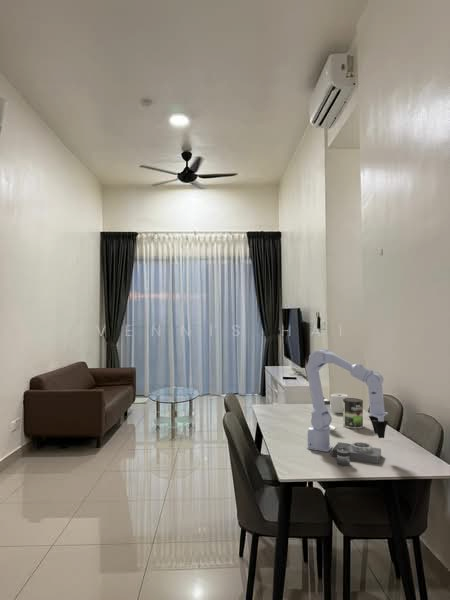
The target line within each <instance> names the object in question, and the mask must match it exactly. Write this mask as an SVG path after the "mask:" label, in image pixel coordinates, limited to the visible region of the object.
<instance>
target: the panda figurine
mask: <svg viewBox="0 0 450 600" xmlns="http://www.w3.org/2000/svg"><path fill="white" fill-rule="evenodd" d="M323 398H324V403H325V406H326V407H327V409H328V412H329V414H330V415H331V400H329V399H328V398H325V397H324V396H323ZM329 427H330V431H334V430H336V427H335V425H333V424H332V425H331V423H330V424H329Z"/></svg>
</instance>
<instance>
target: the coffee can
mask: <svg viewBox="0 0 450 600" xmlns="http://www.w3.org/2000/svg"><path fill="white" fill-rule="evenodd" d="M363 403H364V400H363V399H360V398H354V397H348V398H345V399H343V413H342V418H343V420H342V421H343V422H342V423H343V424H342V425H343V427H345V428H349V429H353V430H354V429H355V430H358V429H362V428H364V423H363V422H364V421H363V420H364V419H363V418H364V413H363V411H364V407H363V406H364V405H363Z"/></svg>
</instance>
